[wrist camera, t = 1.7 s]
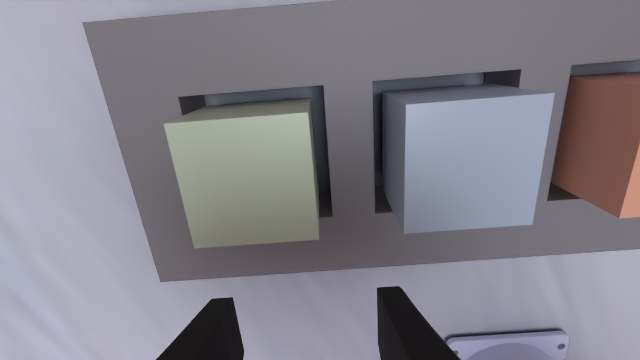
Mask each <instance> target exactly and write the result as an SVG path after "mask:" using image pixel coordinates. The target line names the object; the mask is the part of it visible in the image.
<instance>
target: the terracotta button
mask: <svg viewBox="0 0 640 360" xmlns="http://www.w3.org/2000/svg"><path fill="white" fill-rule="evenodd" d="M550 182H551V183H553V184H555V185H557V186H559V187H560V188H562V189H564V190H566V191H568V192H570V193H572V194H574V195H576V196H578V197H579V198H581V199H583V200H585V201H587V202H589V203H591V204H593V205H595V206H596V207H598V208H600V209H602V210H604V211H606V212H608V213H610V214H612V215H614V216H615V217H617V218H633V217H640V72H630V73H618V74H605V75H593V76H580V77H570V78H569V83H568V88H567V94H566V99H565V105H564V110H563V116H562V121H561V127H560V132H559V137H558V143H557V148H556V154H555V159H554V165H553V170H552V176H551V181H550Z"/></svg>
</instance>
